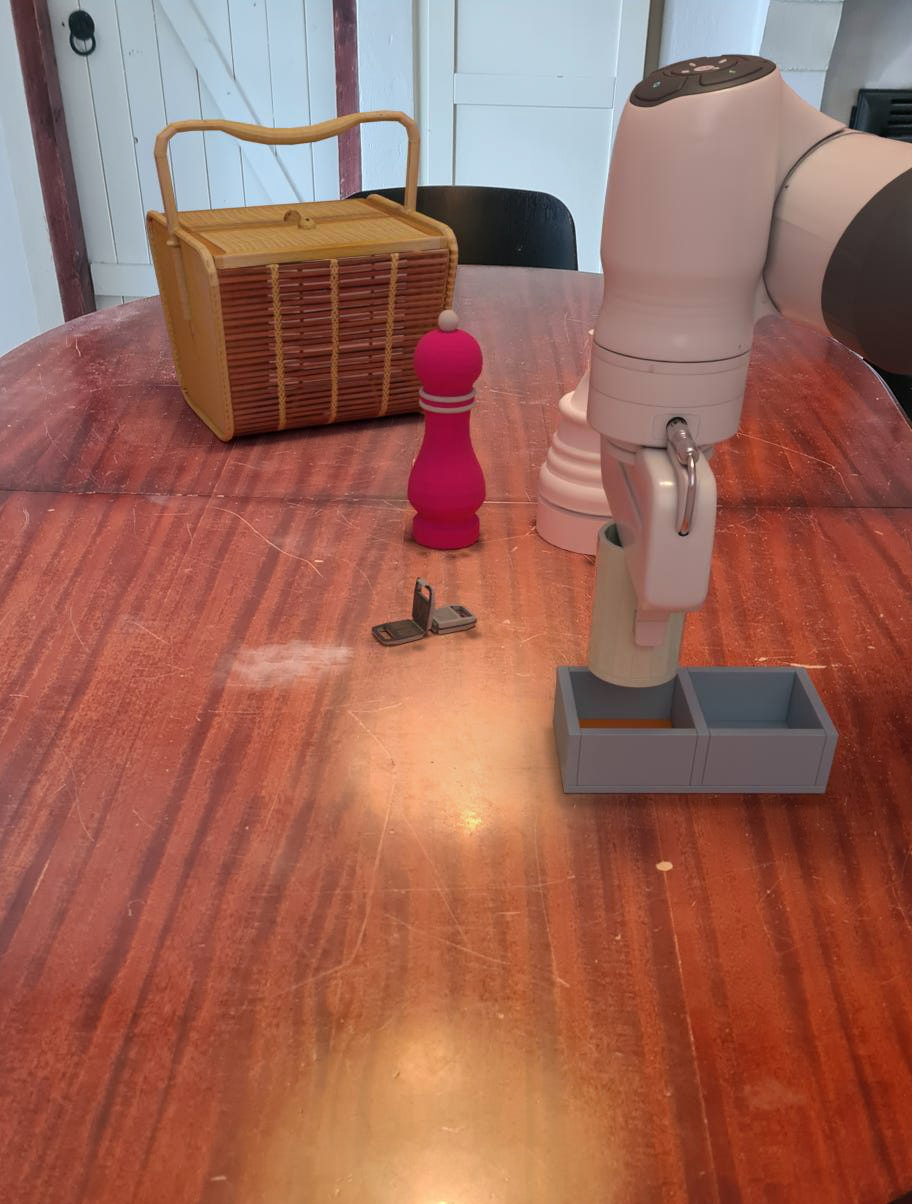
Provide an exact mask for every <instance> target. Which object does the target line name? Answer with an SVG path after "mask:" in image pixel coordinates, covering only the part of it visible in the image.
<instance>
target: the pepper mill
mask: <svg viewBox="0 0 912 1204" xmlns="http://www.w3.org/2000/svg"><path fill="white" fill-rule="evenodd" d="M459 324H460V319H459V315H458V314H457V313H456V312H455V311H454V310H452V309H451V310H445V311H443V312H442V313H441V314H440V315H439V318H438V325H439V327H440V329H436V330H433V331H431V332H429V333H427V334H426V335H425V336H424V337H422V338H421V340H420V341H419V343H418V344H417V347H416V349H415V352H414V358H413V366H414V371H415V373H416V376H417V377H418V378H419V380H420V381H421V382H422V384H423V386H422V387H421V388H420V390H419V394H420V400H419V405H420V406H421V407H422V408H423V409H424V413H425V414H424V433H423V438H422V441H421V442H422V443H421V446H420V449H419V451H418V454H417V455H416V458H415V460H414V463H413V465H412V467H411V470H410V473H409V476H408V481H407V491H406V492H407V493H406V494H407V499H408V502H409V504H410V505H411V507H412V508H413V509H414V510H415V511H416V512H417V513H415V514H414V515H413V517H412V537H413V539H414V540H415V541H416V542H417V543H418V544H420V545H422V546H424V547H427V548H429V549H437V550H456V549H462V548H466V547H469V546H471V545H474V544H475V543H476V542H477V541H478V540H479V538H480V529H481V527H480V526H481V525H480V523H481V521H480V520H481V519H480V517H479V516H478V514H477V512H478V510H479V509H480V508H481V507H482V506H483V505H484V502H485V500H486V496H487V492H486V489H487V487H486V480H485V476H484V472H483V468H482V466H481V464H480V461H479V460H478V458H477V455H476V453H475V449H474V447H473V443H472V438H471V427H470V426H471V425H470V424H471V423H470V421H471V415H472V414H471V413H472V410H473V409H474V408H475V407H476V406H477V401H476V395H477V389H476V387H474V386H473V385H474V384H475V383H476V381H477V380H478V379H479V378H480V376H481V374H482V372H483V367H484V357H483V351H482V348H481V346H480V344H479V342H478V340H476V339H475V337H474V336H473V335H471V333H469V332H467V331H465V330H462V329H460V328H458V327H459Z"/></svg>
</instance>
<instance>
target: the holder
mask: <svg viewBox="0 0 912 1204" xmlns="http://www.w3.org/2000/svg"><path fill="white" fill-rule="evenodd" d="M554 688H555V689H554V701H553V702H554V703H553V715H552V725H553V731H554V737H555V745H556V750H557V757H558V764H559V770H560V776H561V782H562V783H561V784H562V790H563V794H826V790H827V785H828V781H829V777H830V773H831V770H832V765H833V761H834V757H835V752H836V748H837V744H838V741H839V736H840V735H839V733H838V730H837V728H836V726H835V724H834V722H833V721H832V719H831V717H830V715H829V713H828V711H827V709H826V707H825V704H824V702H823V701H822V699H821V697H820V695H819V693H818V691H817V688H816V687H815V684H814V683H813V681H812V679H811V677H810V675H809V673H808V670H807V669H806V667H805V666H733V665H732V666H722V665H721V666H718V665H717V666H711V665H710V666H704V665H703V666H702V665H701V666H698V665H696V666H694V665H693V666H691V665H689V666H688V665H687V666H679V669H678V673H677V674H676V676H675V677H674V678H673V679H671V680H670V681H668V682H666V683H664V684H661V685H657V686H652V687H626V686H620V685H616V684H612V683H609V682H606V681H604V680H602V679H600V678H598V677H597V676H595V675H594V674H593V673H592V672H591V671H590V670H589V668H588V666H587V665H557V666H556V675H555V687H554Z"/></svg>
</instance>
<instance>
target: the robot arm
mask: <svg viewBox="0 0 912 1204" xmlns="http://www.w3.org/2000/svg"><path fill="white" fill-rule="evenodd" d="M614 135H615V136H614V141H613V145H612V148H611V149H612V150H611V155H610V161H609V168H608V173H607V181H606V187H605V193H604V194H605V195H604V204H603V213H602V223H601V234H600V247H599V254H600V255H599V257H600V263H601V268H602V274H603V295H602V301H601V306H600V309H599V312H598V314H597V317H596V320H595V323H594V327H593V329H594V331H593V341H592V348H591V355H590V365H589V367H590V377H589V390H588V402H587V413H586V419H587V422H588V424H589V425H590V427H591V428H593V429H594V430H595V431H597V432H598V433H600V461H601V476H602V484H603V489H604V492H605V495H606V498H607V501H608V504H609V508H610V511H611V514H612V517H613V520H615V523H616V530H617V533H618V537H619V540H620V543H621V546H622V548H624V552H625V559H626V562H627V566H628V569H629V572H630V575H631V579H632V582H633V585H634V588H635V592H636V595H637V598H638V606H637V610H635V611H634V620H633V629H632V631H633V635H634V639H635V642H636V644H637V645H639V646H640V647H657V646H660V645H662V644H663V642H664V640H665V633H666V626H667V621H668V619H669V617H670V615H671V613H687V614H691V613H696V612H699V610H701V609H702V607H703V605H704V603H705V601H706V599H707V596H708V591H709V585H710V577H711V569H712V560H713V550H714V542H715V531H716V522H717V507H718V505H717V504H718V489H717V482H716V481H717V480H716V477H715V474H714V472H713V470H712V468H711V466H710V465H709V463H708V462H709V461H711V459H712V458H713V456H714V450H715V444H720V443H722V442H725V441H727V440H729V439H731V438H732V437H734V436H735V435H736V434H737V433H738V431H739V429H740V426H741V418H742V413H743V406H744V400H745V393H746V387H747V381H748V374H749V368H750V362H751V361H750V360H751V354H752V349H753V341H754V331H755V326H756V324H757V322H759V321H760V320H761V319H763V318H764V317H767V316H768V317H769V316H781V317H783V318H784V319H786V320H788V321H789V322H791V323H793V324H795V325H798V326H799V327H802V328H805V329H807V330H809V331H812V332H815V333H818V334H819V335H821V336H825V337H827V338H830V339H832V340H835V341H836V342H837V343H838V344H840V345H841V346H843V347H844V348H846V349H848V350H849V351H851V352H853V353H855V354H856V355H858V356H860V357H861V358H863V359H865V360H866V361H868V362H869V363H871V364H872V365H874V366H876V367H878V368H880V369H881V370H883V371H886V372H888V373H891V374H896V375H905V376H907V375H908V376H909V375H912V143H911V142H906V141H901V140H897V139H892V138H887V137H881V136H879V135H877V134H875V133H870V132H867V131H862V130H857V129H853V128H849V127H847V125H846V123H843V122H841V121H839V120H836V119H834V118H832V117H830V116H829V115H828V114H826V113H824V112H822V111H820V110H819V109H817V108H816V107H814V106H813V105H811V104H810V103H808V102H807V101H806V100H805V99H803V98H802V97H801V96H800V95H798V94H797V92H795V90H794V89H793V88H791V86H790V85H788V83H787V82H786V81H785V80H784V78H783V77H782V74H781V71H780V68H779V66H778V65H777V64H776V63H775V62H774V61H772V60H770V59H768V58H764V57H762V56H759V55H755V54H754V55H752V54H741V53H737V54H735V53H731V54H730V53H729V54H727V53H726V54H721V55H716V56H715V55H714V56H699V57H694V58H689V59H685V60H680V61H676V62H674V63H671V64H668V65H665V66H663V67H660V68H658V69H656V70H654V71H652V72H650V73H649V75H647V76H646V77H644V78H643V79H642V80H640V81H639V82H638V83H636V85H635V86H634V87H633V88H632V90H631V92H630V93H629V94H628V97H627V99H626V101H625V104H624V105H623V109H622V111H621V115H620V117H619V120H618V124H617V127H616V130H615V134H614Z"/></svg>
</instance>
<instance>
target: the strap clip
mask: <svg viewBox="0 0 912 1204" xmlns="http://www.w3.org/2000/svg"><path fill="white" fill-rule="evenodd" d="M422 587H423V588H425V589H426V590H427V591H428V592H429V593H428V597H427V596H426V595H424V593H422V589H423V588H422ZM413 590H414V591H413V597H412V598H413V599H412V609H411V618H412V619H411V618H407V619H401V620H395V621H390V622H385V623H381V624H377V625H374V626H372V627H371V633H372V634H373V635H374V636H375V637H376V638H377V640H379V641H380V642H381V643H382V644H384V645H401V644H405V643H409V642H413V641H416V640H420V639H423V638H424V635H425V636H426V633H428V632H429V631H430V630H431V631H432V632H433V633H434V634H438V635H444V634H449V633H454V632H461V631H466V630H467V629H470V628H472V627H475V626H476V624H477V623H478V618H477V616H476V614H474V613H473V612H472V610H470V609H469V608H467V606H465V605H464V604H447V605H443V606H438V607H436V594H435V588H434V587H433V585H431V584H430V583H428V582H427V581H426V580H425V579H424V578H423V577H421V576H418V577H416V581H415V585H414V589H413ZM461 615H462V616H464V617H462V616H461ZM386 631H387V633H388V634H389V635H390V636H392V637H391V638H385V637H384V636H383V635H382V633H381V632H386Z"/></svg>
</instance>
